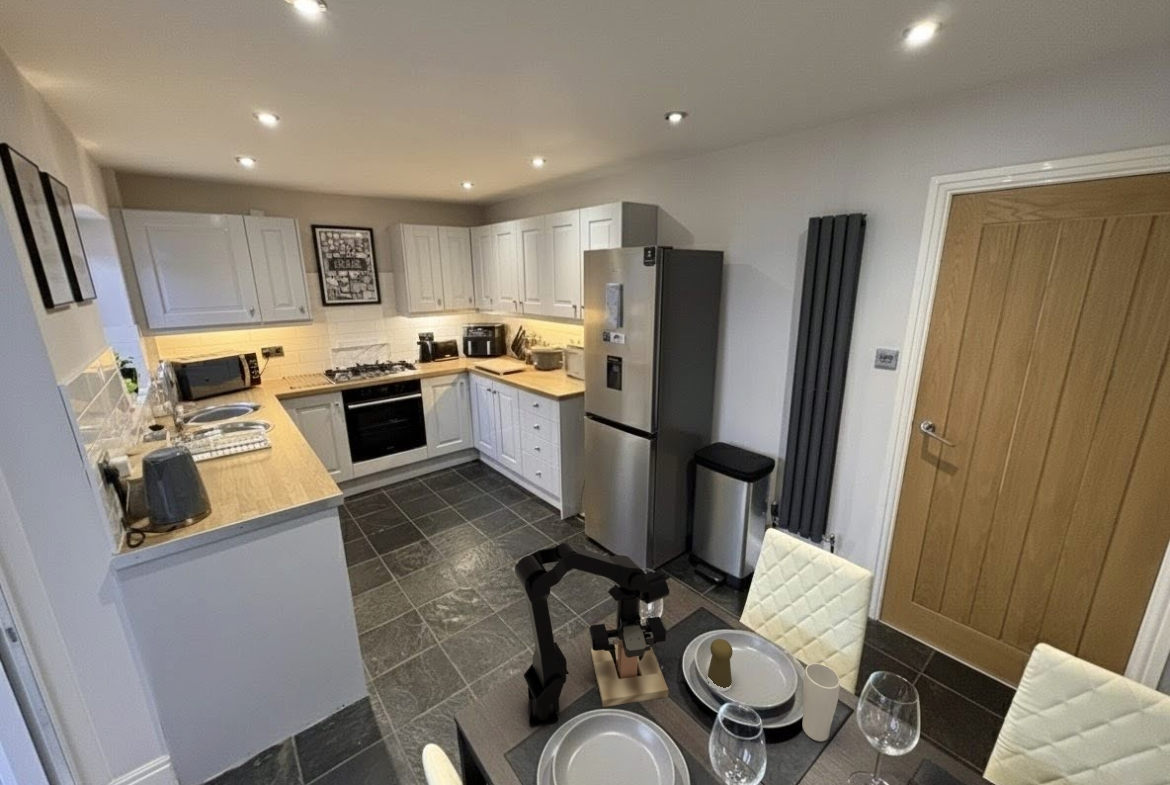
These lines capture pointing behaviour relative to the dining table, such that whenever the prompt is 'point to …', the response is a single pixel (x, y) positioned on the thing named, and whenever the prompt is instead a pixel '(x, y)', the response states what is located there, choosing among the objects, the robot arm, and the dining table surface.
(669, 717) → the dining table surface
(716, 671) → the olive brown pawn
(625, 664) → the brown tall block
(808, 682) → the drinking glass
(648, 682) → the wooden square hole board
